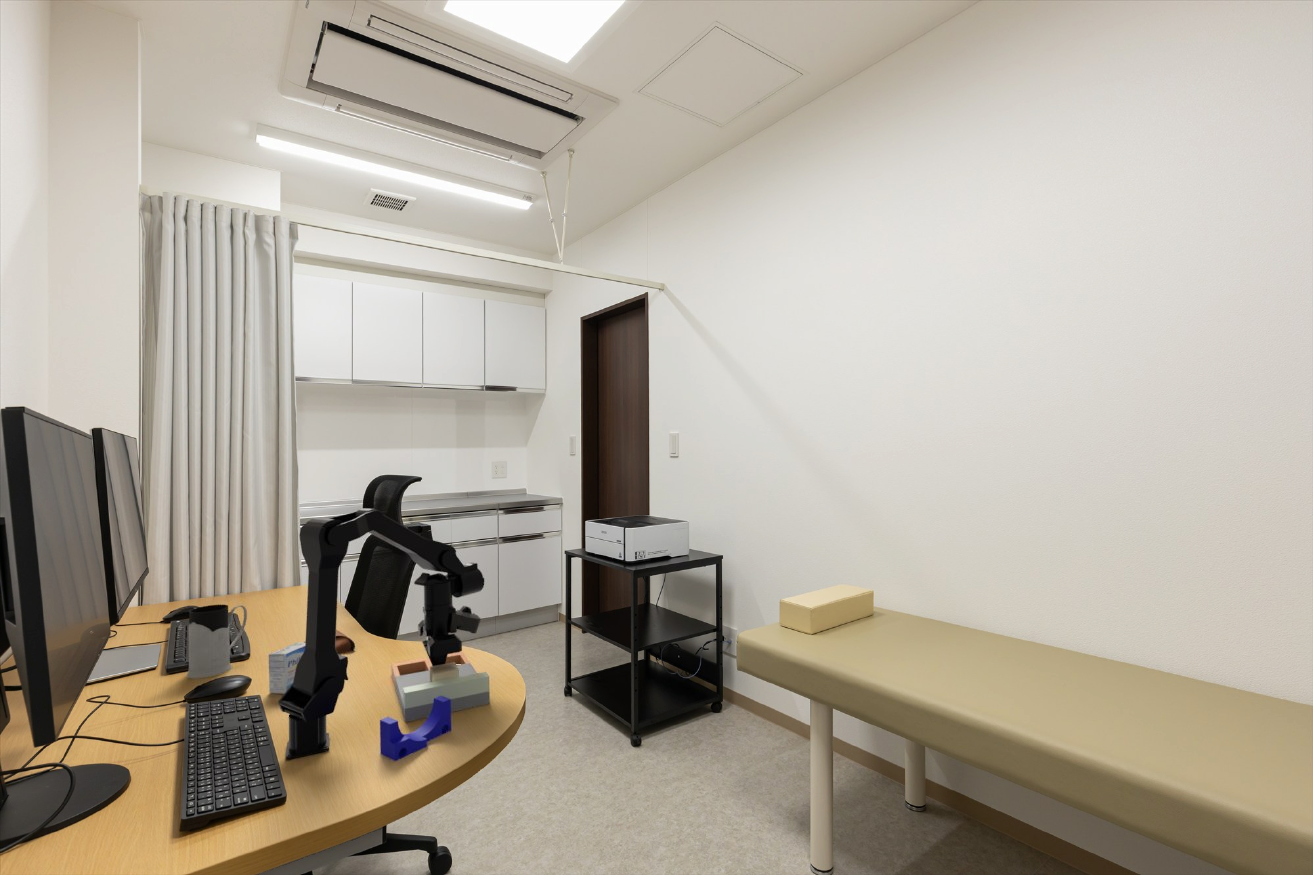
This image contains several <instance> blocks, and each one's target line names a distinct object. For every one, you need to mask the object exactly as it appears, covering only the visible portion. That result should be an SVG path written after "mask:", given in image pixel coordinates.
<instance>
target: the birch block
mask: <svg viewBox="0 0 1313 875" xmlns="http://www.w3.org/2000/svg"><path fill="white" fill-rule="evenodd" d="M456 677H459V669H458V667H457V666H456V664H455V662H453V663H447V664H442V665H436V666H431V667H430V682H435V681H440V680H446V679H451V678H456Z"/></svg>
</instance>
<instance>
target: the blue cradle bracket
mask: <svg viewBox="0 0 1313 875" xmlns="http://www.w3.org/2000/svg"><path fill="white" fill-rule="evenodd" d="M451 731H452V712H451V699H449V698H447V697H444V696H438V697H436V698H434V703H433V708H432V711H431V713H430V715H429V717H427V718H426V720H425V721H424V722H423V724H422V725H421V726H420V727H419V728H417V729H416V730H414V731H412V732H410V733H409V732H408V733H406V734H405V733H403V732H402V731H401V729H400V727H399V721H398V719H394V718H392V717H390V716H387V717H384V718H381V719H380V720H379V740H380V742H379V744H380V745H379V746H380V749H379V750H380V753H379V754H380V755H382V756H384V757H385V758H387V759H390V760H391V761H393V762H397V761H399V760H401V759H404V758H406V757H408V756H410V755H413V754H414V753H417V752H418V751H420V750H421V751H422V750H424V749H425V748H427V747H428V742H430V741H432V740H434V739H437V738H439V737H441V736H443V735H445V734H447V733H449V732H451Z"/></svg>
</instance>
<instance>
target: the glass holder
mask: <svg viewBox="0 0 1313 875" xmlns="http://www.w3.org/2000/svg"><path fill="white" fill-rule="evenodd" d="M238 607H240V608H242V611H243V621H242V626H241V627H240V630H239V632H238V634H237V635H236V637H235V639H234V640H233V641H232V642H231V644H230V626H231V625H232V622H233V614H234V612H235V610H236V609H237V608H238ZM247 611H248V610H247V608H246V606H244V605H240V604H239V605H235V606H234V607H232V608H231V610H230V611H229V604H210V605H209V604H208V605H204V606H198V607H195V608H192V609H190V610H189V615H188V616H189V624H188V672H187V674H186V677H187V679H205V678H211V677H214V676H218V675H222V674H225V673H226V672H229V671H230V670H232V668H233V666H232V664H231V659H230V657H231V655H230V651H231V650H232V648H233V646H235V645H236V643H237V642H238V640H239V639H240V637H241V636H242V634H243V633H244V630H245V627H246V623H247V619H248V618H247V617H248V612H247Z"/></svg>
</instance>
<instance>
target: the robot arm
mask: <svg viewBox="0 0 1313 875" xmlns="http://www.w3.org/2000/svg"><path fill="white" fill-rule="evenodd" d="M366 534H371V535H372V536H374V537H376V538H378V539H381V540H382V541H384V542H386V543H388V544H390V545H391V546H392V547H395V548H397V549H399V550H401V551H403V552H405V553H406V554H407V555H408V556H409V557H410V559H411V560H412V561H413V562H414V563H415V564H416V565H418V566H419V567H420V568H421V569H422V570H427V571H431V572H433V571H434V572H437V573H434V574H430V573H427V572H421V573H420V575H419V577H417V578H416V579H415V581H414V582H413V584H414V585H415V586H421V587H423V606H422V613H423V615H424V617H423V618H424V619H422V620H421V621H420V622H419V623H418V624H417V630H418V631H417V633H418V635H419V637H422V636H423V634H424V635H425V637H426V640H423V641H422V642H421V643H422V645H423V647H424V650H425V652H426V654H427V658H429V659H430V661H431V664H432V666H436V665H442V664H445V663H446V659H447V655H448V654H452V653H458V652H463V643H462V640H461V638H460V637H459V636H457V635H456V633H457V631H463V632H468V633H470V634H477V632H478V630H479V626H480V623H481V620H482V618H481V617H480V616H479V615H478V614H475V612H473V613H472V609H471V607H470V606H466V605H462V607H461V608H460V609H456V608H455V607H454V605H453V604H454V603H453V597H454V598H457V599H458V598H462V597H466V596H469V595H472V594H477V593H479V592H481V591H482V590H483V589H484V587H485V578H484V575H483V573H482V571H481V570H480V569H479V568H478V566H479V565H478V563H477V562H476V563H475V562H469V563H468V562H467V563H466V564H463V563H462V561H461V560H460V558H459V557H458V555H457V549H456V548H455V547H454V546H453V545H450V544H448V543H444V542H441V541H438V540H434V539H430V538H426V537H423V536H422V535H420V534H418V533H417V532H415V531H413V530H411V529H410V528H407V527H406V526H405V525H403V524H401V523H399V522H397V521H396V520H394V519H392V518H390V517H389V516H387V515H385V514H383V512H381V510H379V509H376V508H366V507H365V508H360V509H357V510H355V511H353V512H348V513H344V514H340V515H335V516H331V517H328V518H322V517H315V518H312V519H309V520H307V521H306V522H305V524H303V525H302V526H301V527H300V531H299V541H300V542H299V543H300V549H301V554H302V556H303V559H304V562H305V563H306V566H307V569H308V576H307V577H308V578H307V604H306V624H305V625H306V626H305V641H306V644H305V651H304V653H303V655H302V656H301V658H300V660H299V662H298V664H297V667H296V671H295V676H294V681H293V684H292V685H291V686H290V687H289V689H288V690H287V691H286V693H285V694H282V696H281V698H280V699H279V700H278V703H277V704H278V706H279V709H280V710H281V712H282V713H285V714H288V741H287V742H286V750H285V757H284V758H285V760H291V759H296V758H300V757H305V756H309V755H313V754H319V753H321V752H322V753H323V752H325V751H329V750H330V733H329V732H327V715H331V714H333V713H334V712H335V709H336V705H337V703H338V699H339V696H340V694H341V693H342V692H343V690H344V688H345V682H346V681H348V680H349V677H348V673H347V671H348V670H347V669H348V665H349V658H348V656H345V655H341V654H338V653H337V650H336V630H337V618H338V617H337V616H338V615H337V614H338V595H339V594H338V591H339V590H338V589H339V570H340V566H341V565H342V563H343V560H344V559H345V557H346V555H347V553H348V550H349V545H350V542H352V541H355V540H358V539H360V538H362V537H363V536H365V535H366ZM443 573H446V575H445V574H443Z"/></svg>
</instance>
